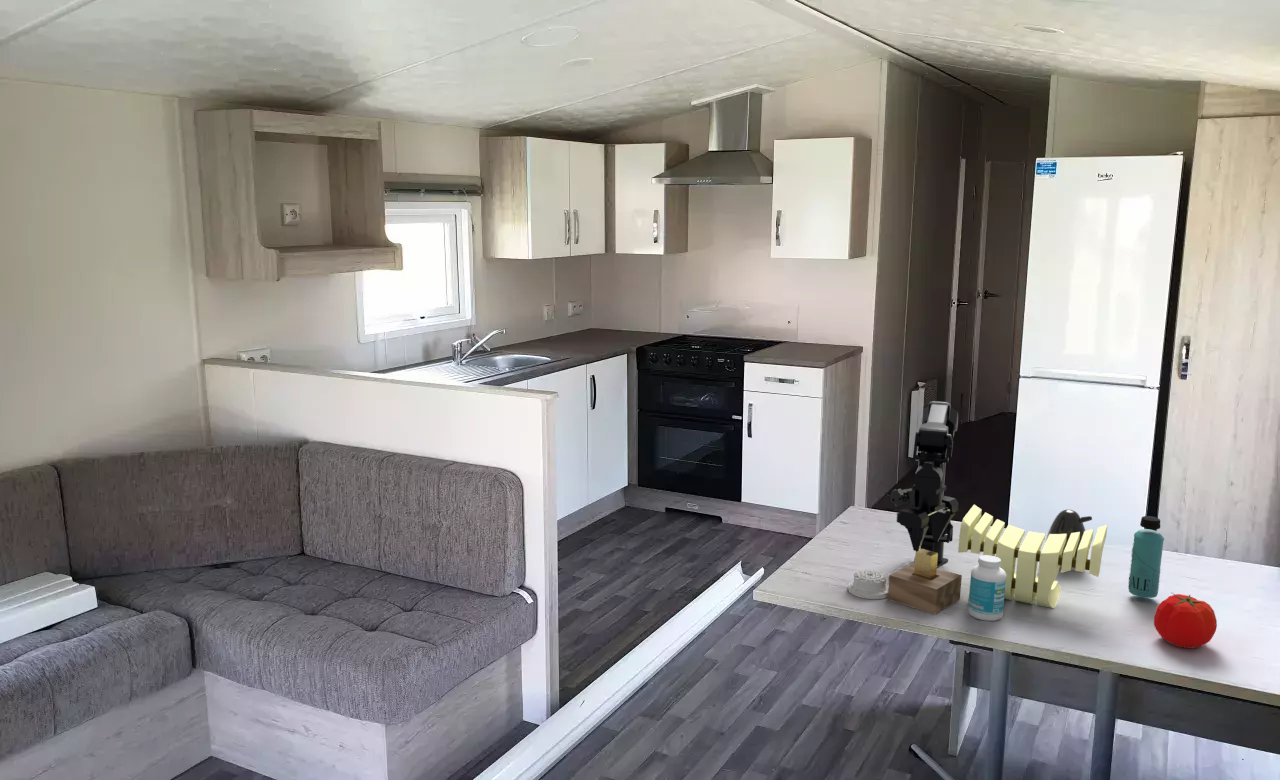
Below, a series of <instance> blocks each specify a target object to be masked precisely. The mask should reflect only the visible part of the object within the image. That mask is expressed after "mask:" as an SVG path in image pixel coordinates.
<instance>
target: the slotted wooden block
mask: <svg viewBox="0 0 1280 780" xmlns="http://www.w3.org/2000/svg"><path fill="white" fill-rule="evenodd" d="M914 569H915V561H913V562H912V563H910V564H908V565H906V566H904V567H902V568H900V569H898V570H896V571H894V572H892V573H890V574H889V575H888V585H889V586H888V597H887V600H889V601H892V602H896V603H898V604H901V605H905V606H908V607H911V608H913V609H917V610H921V611H924V612H927V613H929V612H930V614H933V615H936V614H938V613H940V612H942V611H943V610H945V609H946V608H948V607H950V606H952V605H953V604H956V602H958V601H960V600H961V591H962V580H963V579H962V578H963V575H962V574H959V573H955V572H952V571H948V570H945V569H941V568H938V567H937V573H936V578H935V579H933V580H928V579H925V578H921V577H918V576H915V575H914Z"/></svg>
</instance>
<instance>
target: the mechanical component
mask: <svg viewBox="0 0 1280 780" xmlns="http://www.w3.org/2000/svg"><path fill="white" fill-rule="evenodd" d="M847 586H848V587H847V588H848V592H849V593H850V594H851V595H853V596H856V597H859V598H863V599H868V600H881V599H886V598H888V586H889V583H887V575H886V574H883V573H882V572H881V571H877V570H874V569H873V570H872V569H864V570H863V569H862V570H860V569H859V570H858V571H857V572H856V571H855V572H854V574H853V580H851V581H849V582H848V585H847Z"/></svg>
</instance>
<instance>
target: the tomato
mask: <svg viewBox="0 0 1280 780" xmlns="http://www.w3.org/2000/svg"><path fill="white" fill-rule="evenodd" d="M1171 594H1172V595H1170V596H1168V597H1167V598H1166V599H1164V600H1162V601H1161V602H1160V603H1159V604H1157V606H1156V609H1155V613H1154V615H1153V616H1154V617H1153V625H1154V628H1155V631H1156V632H1157V633H1158V635H1159V636H1160V637H1161V638H1162V639H1163V640H1165V641H1166V642H1168V643H1170V644H1172V645H1173V646H1176V647H1177V648H1178V647H1179V648H1187V649H1195V648H1200V647H1202V646H1205V645H1206V644H1208V643H1209V642H1211V640H1212V639H1213V637H1214V635H1215V633H1216V632H1217V627H1218V625H1217V624H1218V622H1217V617H1216V613H1215V611H1214V609H1213V607H1212V606H1211V605H1210V604H1209V603H1208V602H1207V601H1205V600H1198V599H1197V598H1195V597H1193V596H1191V594H1188V595H1186V594H1180V593H1178V594H1175V593H1174V592H1171Z"/></svg>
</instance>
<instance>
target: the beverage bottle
mask: <svg viewBox="0 0 1280 780" xmlns="http://www.w3.org/2000/svg"><path fill="white" fill-rule="evenodd" d="M1140 527H1142V529H1139V530H1137V531H1136V532H1134V534H1133V542H1132V549H1131V560H1130V568H1129V571H1130V572H1129V575H1128V593H1129V594H1132V595H1133V596H1136V597H1139V598H1143V599H1144V598H1145V599H1153V598H1157V596H1158V594H1159V589H1160V579H1161V578H1160V577H1161V565H1162V556H1163V548H1164V541H1165V537H1164V536H1163V535H1162V534H1161V533H1160V532H1159V531H1157V530H1160V529H1161V519H1160V518H1158V517H1157V516H1151V515H1150V516H1149V515H1145V516H1142V517H1141V519H1140Z"/></svg>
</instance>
